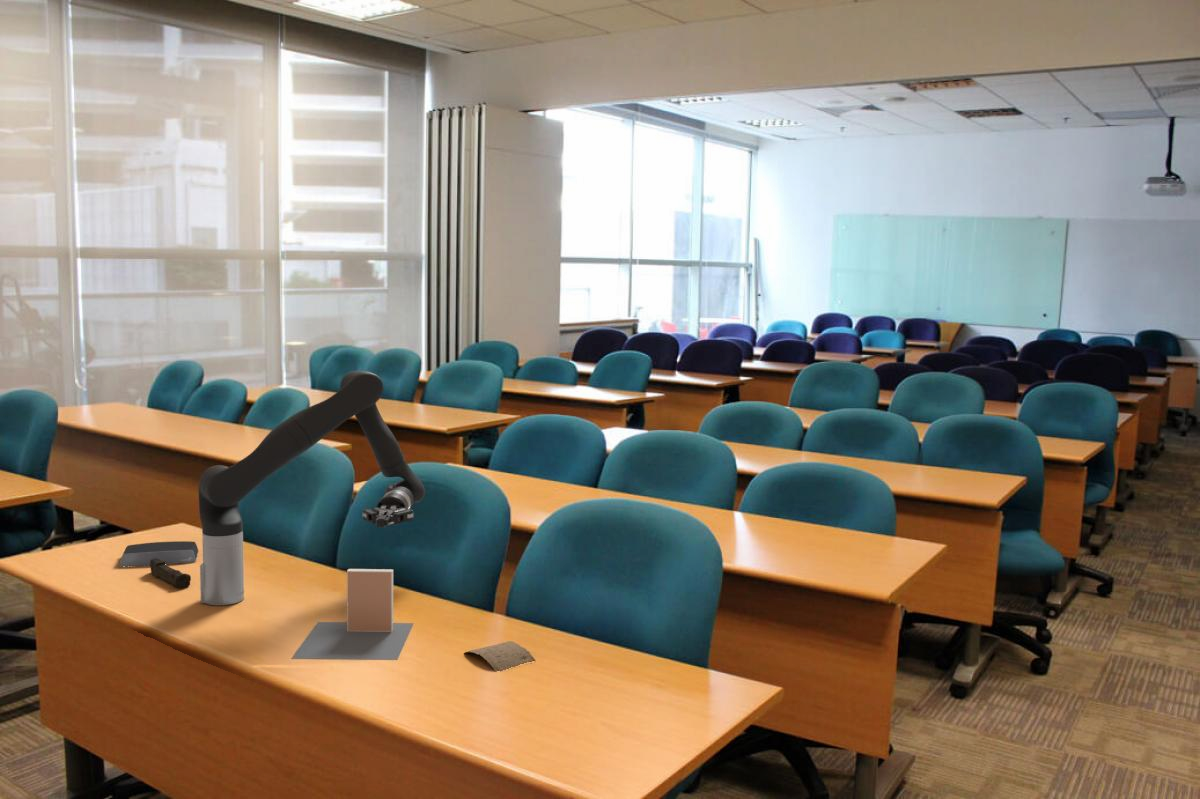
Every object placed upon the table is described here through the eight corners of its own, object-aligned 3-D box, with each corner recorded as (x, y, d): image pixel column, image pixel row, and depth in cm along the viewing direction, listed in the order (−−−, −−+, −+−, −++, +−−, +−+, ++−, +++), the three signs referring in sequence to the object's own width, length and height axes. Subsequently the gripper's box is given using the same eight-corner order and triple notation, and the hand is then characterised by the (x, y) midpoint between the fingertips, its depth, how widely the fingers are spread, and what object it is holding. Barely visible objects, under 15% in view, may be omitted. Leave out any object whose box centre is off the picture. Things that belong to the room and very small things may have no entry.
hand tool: (191, 588, 245) (191, 570, 245) (175, 591, 242) (175, 573, 242) (162, 571, 258) (162, 555, 258) (147, 574, 255) (146, 557, 255)
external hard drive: (195, 564, 266) (195, 550, 265) (118, 569, 259) (117, 555, 259) (198, 552, 278) (198, 538, 277) (125, 557, 272) (124, 542, 271)
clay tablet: (538, 665, 202) (538, 652, 201) (498, 677, 195) (498, 664, 195) (498, 645, 212) (498, 633, 212) (459, 655, 206) (460, 643, 206)
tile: (347, 631, 215) (346, 570, 214) (348, 628, 217) (348, 568, 215) (391, 631, 216) (391, 571, 214) (393, 629, 217) (393, 569, 216)
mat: (290, 660, 199) (290, 658, 199) (318, 624, 221) (318, 621, 221) (397, 662, 200) (397, 659, 200) (413, 625, 222) (413, 623, 222)
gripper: (367, 491, 243) (353, 507, 226) (420, 492, 244) (409, 508, 227) (368, 520, 244) (353, 538, 227) (420, 521, 245) (409, 539, 227)
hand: (381, 523), depth 227 cm, fingers closed
